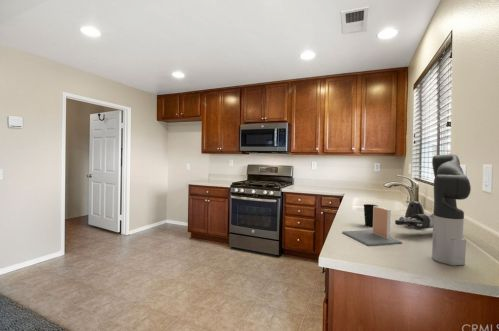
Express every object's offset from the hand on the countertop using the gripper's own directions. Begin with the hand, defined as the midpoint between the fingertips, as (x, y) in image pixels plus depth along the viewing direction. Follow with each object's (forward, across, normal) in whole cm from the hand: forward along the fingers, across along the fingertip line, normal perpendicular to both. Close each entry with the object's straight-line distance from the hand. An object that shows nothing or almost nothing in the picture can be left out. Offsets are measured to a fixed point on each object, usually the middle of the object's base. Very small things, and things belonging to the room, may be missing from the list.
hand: (396, 222), depth 128 cm
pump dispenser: (-25, -13, +7) cm, 29 cm away
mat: (+15, 0, +7) cm, 17 cm away
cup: (-1, -20, +7) cm, 21 cm away
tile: (+9, 0, +6) cm, 11 cm away
